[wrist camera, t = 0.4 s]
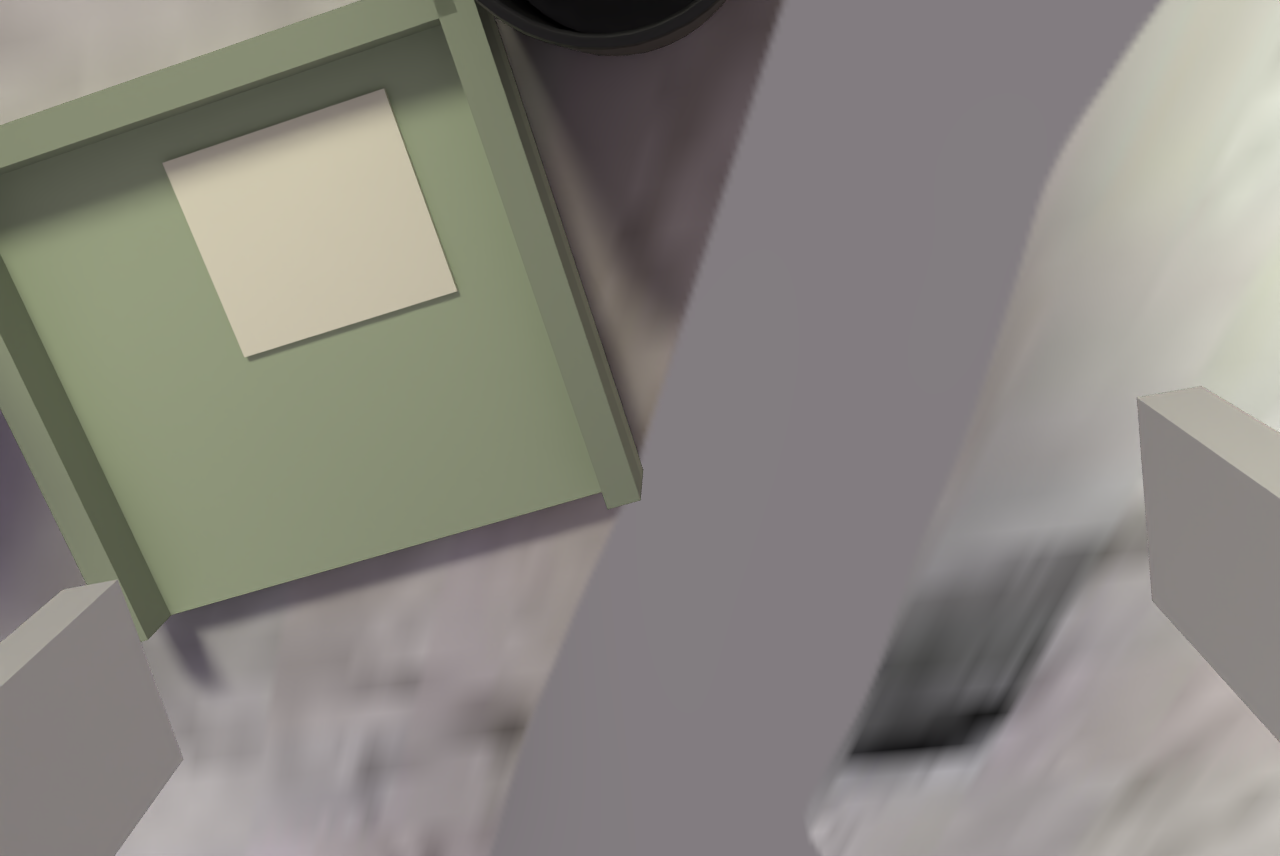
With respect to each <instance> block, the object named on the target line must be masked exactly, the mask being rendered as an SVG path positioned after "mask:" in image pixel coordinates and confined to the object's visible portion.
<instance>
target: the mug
mask: <svg viewBox="0 0 1280 856" xmlns="http://www.w3.org/2000/svg"><path fill="white" fill-rule="evenodd" d="M475 1H476V2H477V3H479V4H480V5H481V6H482V7H484V8H485V9H486V10H487V11H489V12H490V13H491V14H492V15H494V16H495V17H497V18H498V19H500V20H501V21H502V22H504V23H506V24H507V25H509V26H511V27H513V28H515V29H516V30H518V31H520V32H522V33H523V34H525V35H528V36H531V37H534V38H536V39H539V40H542V41H544V42H547V43H551V44H554V45H558V46H562V47H565V48H569V49H573V50H577V51H580V52H585V53H590V54H595V55H606V56H623V55H632V54H639V53H645V52H649V51H652V50H655V49H658V48H661V47H664V46H666V45H669V44H671V43H673V42H675V41H677V40H679V39H681V38H683V37H685V36H687V35H688V34H689V33H691V32H692V31H694V30H695V29H696V28H698V27H699V26H700V25H702V24H703V23H704V22H705V21H707V20H708V19H709V18H710V17H711V16H712V15H713V14H714V13H715V12H716V11H717V10H718V9H719V8H720V7H721V6H722V5H723V3H724V2H725V1H726V0H475Z"/></svg>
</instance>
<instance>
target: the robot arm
mask: <svg viewBox="0 0 1280 856" xmlns="http://www.w3.org/2000/svg"><path fill="white" fill-rule="evenodd" d="M1137 407H1138V420H1139V434H1140V447H1141V460H1142V473H1143V487H1144V500H1145V513H1146V526H1147V540H1148V553H1149V566H1150V580H1151V593H1152V601H1153V602H1154V603H1155V604H1156V606H1157V607H1158V608H1159V609H1160V610H1161V611H1162V612H1163V613H1164V614H1165V616H1166V617H1167V618H1168V619H1169V620H1170V621H1171V622H1172V623H1173V624H1174V626H1175V627H1176V628H1177V629H1178V630H1179V631H1180V632H1181V633H1182V634H1183V636H1184V637H1185V638H1186V639H1187V640H1188V641H1189V642H1190V643H1191V644H1192V646H1193V647H1194V648H1195V649H1196V650H1197V651H1198V652H1199V653H1200V654H1201V656H1202V657H1203V658H1204V659H1205V660H1206V661H1207V662H1208V663H1209V664H1210V665H1211V667H1212V668H1213V669H1214V670H1215V671H1216V672H1217V673H1218V674H1219V675H1220V677H1221V678H1222V679H1223V680H1224V681H1225V682H1226V683H1227V684H1228V685H1229V687H1230V688H1231V689H1232V690H1233V691H1234V692H1235V693H1236V694H1237V695H1238V697H1239V698H1240V699H1241V700H1242V701H1243V702H1244V703H1245V704H1246V705H1247V707H1248V708H1249V709H1250V710H1251V711H1252V712H1253V713H1254V714H1255V715H1256V717H1257V718H1258V719H1259V720H1260V721H1261V722H1262V723H1263V724H1264V725H1265V727H1266V728H1267V729H1268V730H1269V731H1270V732H1271V733H1272V734H1273V735H1274V736H1275V738H1276V739H1277V740H1278V741H1279V742H1280V433H1279V432H1278V431H1276V430H1274V429H1273V428H1271V427H1269V426H1268V425H1266V424H1264V423H1263V422H1261V421H1259V420H1258V419H1256V418H1254V417H1253V416H1251V415H1249V414H1248V413H1246V412H1244V411H1243V410H1241V409H1239V408H1237V407H1236V406H1234V405H1232V404H1231V403H1229V402H1227V401H1226V400H1224V399H1222V398H1221V397H1219V396H1217V395H1216V394H1214V393H1212V392H1211V391H1209V390H1207V389H1206V388H1204V387H1202V386H1198V387H1192V388H1187V389H1181V390H1176V391H1170V392H1164V393H1159V394H1153V395H1148V396H1142V397H1137ZM182 760H183V756H182V754H181V751H180V748H179V745H178V743H177V740H176V737H175V735H174V732H173V729H172V726H171V724H170V721H169V718H168V715H167V713H166V710H165V707H164V704H163V702H162V699H161V696H160V694H159V691H158V688H157V685H156V683H155V680H154V677H153V674H152V672H151V669H150V666H149V663H148V661H147V658H146V655H145V653H144V650H143V647H142V644H141V642H140V639H139V636H138V633H137V631H136V628H135V625H134V623H133V620H132V617H131V614H130V612H129V609H128V606H127V603H126V601H125V598H124V595H123V592H122V590H121V587H120V584H119V582H118V580H112V581H107V582H101V583H96V584H90V585H84V586H79V587H73V588H68V589H63V590H62V591H60V592H59V593H58V594H57V595H56V596H55V597H53V598H52V599H51V600H50V601H49V602H48V603H46V604H45V605H44V606H43V607H42V608H40V609H39V610H38V611H37V612H36V613H35V614H33V615H32V616H31V617H30V618H29V619H28V620H26V621H25V622H24V623H23V624H22V625H20V626H19V627H18V628H17V629H16V630H15V631H13V632H12V633H11V634H10V635H9V636H8V637H6V638H5V639H4V640H3V641H2V642H0V856H115V855H116V853H117V852H118V850H119V849H120V848H121V846H122V845H123V843H124V842H125V841H126V839H127V838H128V836H129V835H130V834H131V832H132V831H133V829H134V828H135V826H136V825H137V824H138V822H139V821H140V819H141V818H142V817H143V815H144V814H145V812H146V811H147V810H148V808H149V807H150V805H151V804H152V803H153V801H154V800H155V798H156V797H157V796H158V794H159V793H160V791H161V790H162V789H163V787H164V786H165V784H166V783H167V782H168V780H169V779H170V777H171V776H172V775H173V773H174V772H175V770H176V769H177V768H178V766H179V765H180V763H181V762H182Z"/></svg>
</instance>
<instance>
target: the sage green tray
mask: <svg viewBox="0 0 1280 856" xmlns="http://www.w3.org/2000/svg"><path fill="white" fill-rule="evenodd" d="M0 409H1V411H2V413H3V415H4V417H5V419H6V421H7V423H8V425H9V427H10V429H11V431H12V434H13V436H14V438H15V440H16V442H17V444H18V446H19V448H20V450H21V452H22V454H23V456H24V458H25V460H26V462H27V464H28V466H29V468H30V470H31V472H32V474H33V476H34V478H35V480H36V482H37V484H38V486H39V488H40V490H41V492H42V494H43V497H44V499H45V501H46V503H47V505H48V507H49V509H50V511H51V513H52V515H53V517H54V519H55V521H56V523H57V525H58V527H59V529H60V531H61V533H62V535H63V537H64V539H65V541H66V543H67V545H68V547H69V549H70V551H71V553H72V555H73V557H74V560H75V562H76V564H77V566H78V568H79V570H80V572H81V574H82V576H83V578H84V580H85V582H86V584H87V585H90V584H96V583H101V582H107V581H112V580H118V582H119V584H120V587H121V590H122V592H123V595H124V598H125V601H126V603H127V606H128V609H129V612H130V614H131V617H132V620H133V623H134V625H135V628H136V631H137V633H138V636H139V639H140V642H142V641H146V640H148V639H149V638H150V637H151V636H152V635H153V634H154V633H155V632H156V631H157V630H158V629H159V627H160V626H161V625H162V624H163V623H164V622H165V621H166V620H167V619H168V618H169V617H170V616H171V615H173V614H177V613H180V612H184V611H187V610H191V609H194V608H198V607H201V606H205V605H208V604H212V603H215V602H219V601H222V600H226V599H229V598H233V597H236V596H240V595H243V594H247V593H250V592H254V591H257V590H261V589H264V588H268V587H271V586H275V585H278V584H282V583H285V582H289V581H292V580H296V579H299V578H303V577H306V576H310V575H313V574H317V573H320V572H324V571H327V570H331V569H334V568H338V567H341V566H345V565H348V564H352V563H355V562H359V561H362V560H366V559H369V558H373V557H376V556H380V555H383V554H387V553H390V552H394V551H397V550H401V549H404V548H408V547H411V546H415V545H418V544H422V543H425V542H429V541H432V540H436V539H439V538H443V537H446V536H450V535H453V534H457V533H460V532H464V531H467V530H471V529H474V528H478V527H481V526H485V525H488V524H492V523H495V522H499V521H502V520H506V519H509V518H513V517H516V516H520V515H523V514H527V513H530V512H534V511H537V510H541V509H544V508H548V507H551V506H555V505H558V504H562V503H565V502H569V501H572V500H576V499H579V498H583V497H586V496H590V495H593V494H597V493H600V492H602V495H603V498H604V501H605V503H606V506H607V509H611V508H615V507H618V506H622V505H625V504H629V503H632V502H636V501H640V500H641V489H642V478H643V468H642V465H641V462H640V459H639V456H638V452H637V449H636V446H635V443H634V440H633V437H632V434H631V431H630V428H629V425H628V422H627V419H626V416H625V413H624V410H623V407H622V404H621V401H620V398H619V395H618V392H617V389H616V386H615V383H614V380H613V377H612V374H611V371H610V368H609V365H608V362H607V359H606V356H605V352H604V349H603V346H602V343H601V340H600V337H599V334H598V331H597V328H596V325H595V322H594V319H593V316H592V313H591V310H590V307H589V304H588V301H587V298H586V295H585V292H584V289H583V286H582V283H581V280H580V277H579V274H578V271H577V268H576V265H575V262H574V259H573V255H572V252H571V249H570V246H569V243H568V240H567V237H566V234H565V231H564V228H563V225H562V222H561V219H560V216H559V213H558V210H557V207H556V204H555V201H554V198H553V195H552V192H551V189H550V186H549V183H548V180H547V177H546V174H545V171H544V168H543V165H542V162H541V159H540V155H539V152H538V149H537V146H536V143H535V140H534V137H533V134H532V131H531V128H530V125H529V122H528V119H527V116H526V113H525V110H524V107H523V104H522V101H521V98H520V95H519V92H518V89H517V86H516V83H515V80H514V77H513V74H512V71H511V68H510V65H509V62H508V58H507V55H506V52H505V49H504V46H503V43H502V40H501V37H500V34H499V31H498V28H497V25H496V22H495V19H494V16H493V15H492V14H491V13H490V12H489V11H487V10H486V9H485V8H484V7H482V6H481V5H480V4H479V3H477V2H476V1H475V0H361V1H358V2H355V3H352V4H349V5H346V6H343V7H340V8H337V9H335V10H332V11H329V12H326V13H323V14H320V15H317V16H314V17H311V18H309V19H306V20H303V21H300V22H297V23H294V24H291V25H288V26H286V27H283V28H280V29H277V30H274V31H271V32H268V33H265V34H262V35H260V36H257V37H254V38H251V39H248V40H245V41H242V42H239V43H236V44H234V45H231V46H228V47H225V48H222V49H219V50H216V51H213V52H211V53H208V54H205V55H202V56H199V57H196V58H193V59H190V60H187V61H185V62H182V63H179V64H176V65H173V66H170V67H167V68H164V69H162V70H159V71H156V72H153V73H150V74H147V75H144V76H141V77H138V78H136V79H133V80H130V81H127V82H124V83H121V84H118V85H115V86H112V87H110V88H107V89H104V90H101V91H98V92H95V93H92V94H89V95H87V96H84V97H81V98H78V99H75V100H72V101H69V102H66V103H63V104H61V105H58V106H55V107H52V108H49V109H46V110H43V111H40V112H37V113H35V114H32V115H29V116H26V117H23V118H20V119H17V120H14V121H12V122H9V123H6V124H3V125H0Z"/></svg>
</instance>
